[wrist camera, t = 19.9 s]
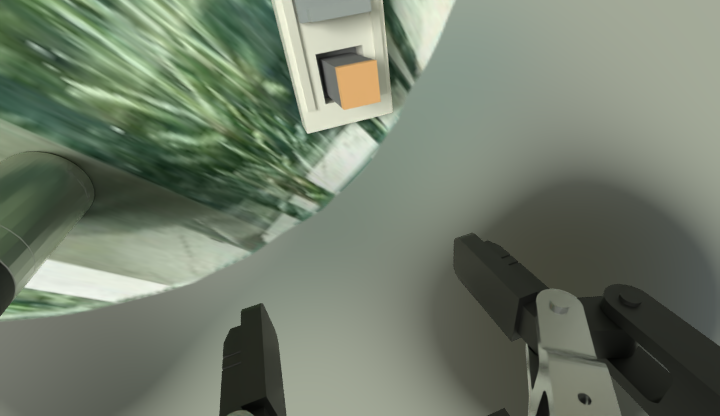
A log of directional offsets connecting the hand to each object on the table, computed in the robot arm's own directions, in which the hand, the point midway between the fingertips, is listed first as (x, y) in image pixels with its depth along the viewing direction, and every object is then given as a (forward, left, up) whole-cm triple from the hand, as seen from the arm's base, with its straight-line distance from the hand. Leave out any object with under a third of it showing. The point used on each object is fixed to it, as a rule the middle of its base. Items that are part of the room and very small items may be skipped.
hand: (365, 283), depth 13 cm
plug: (+8, +2, -35) cm, 36 cm away
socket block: (+8, +5, -36) cm, 37 cm away
